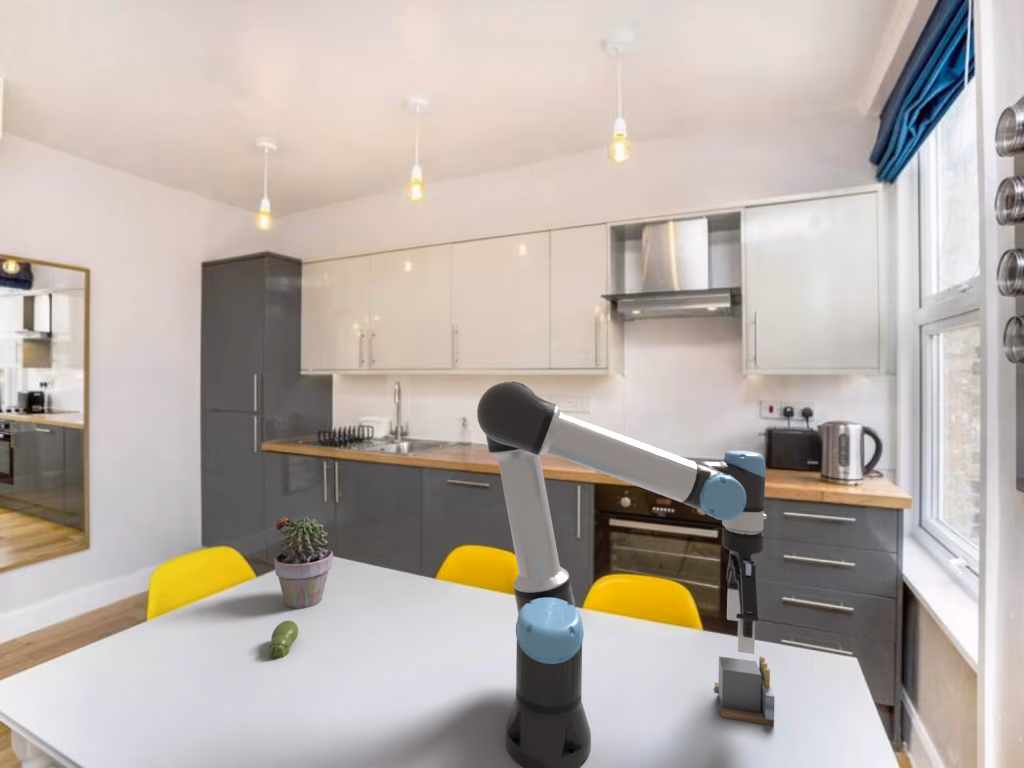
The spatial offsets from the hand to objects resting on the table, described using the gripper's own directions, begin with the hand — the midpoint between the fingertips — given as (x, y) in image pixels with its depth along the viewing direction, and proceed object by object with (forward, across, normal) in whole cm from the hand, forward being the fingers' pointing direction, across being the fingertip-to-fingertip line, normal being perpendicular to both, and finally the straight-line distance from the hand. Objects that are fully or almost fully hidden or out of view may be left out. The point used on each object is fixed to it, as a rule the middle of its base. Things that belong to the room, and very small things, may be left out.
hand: (739, 635), depth 103 cm
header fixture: (+14, 0, -1) cm, 14 cm away
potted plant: (+16, +18, +113) cm, 115 cm away
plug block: (+14, 0, 0) cm, 14 cm away
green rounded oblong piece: (+16, -7, +101) cm, 102 cm away
